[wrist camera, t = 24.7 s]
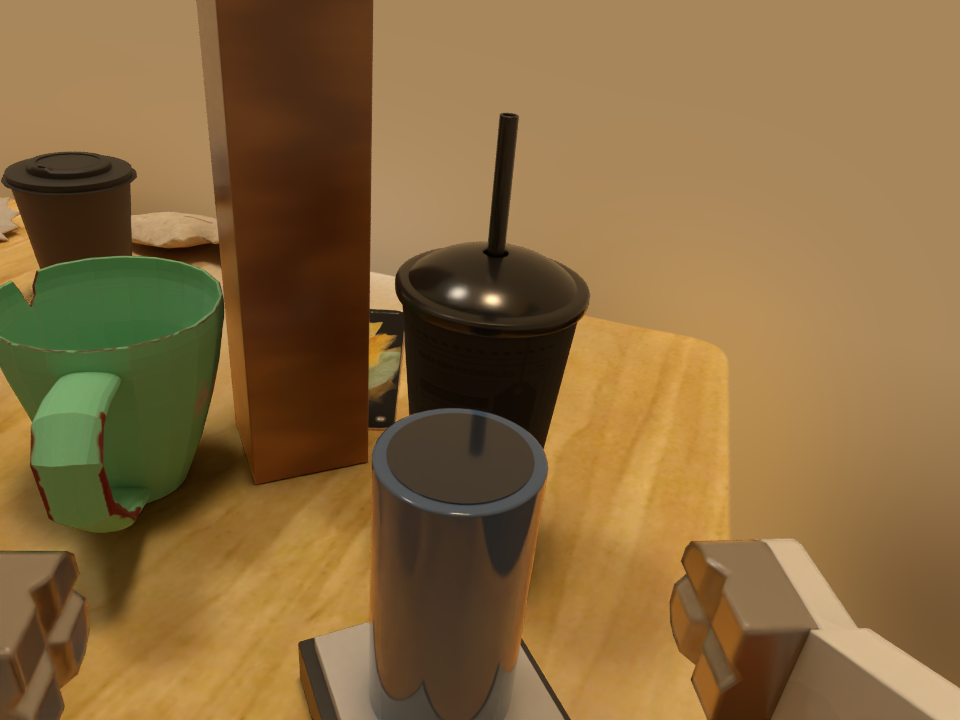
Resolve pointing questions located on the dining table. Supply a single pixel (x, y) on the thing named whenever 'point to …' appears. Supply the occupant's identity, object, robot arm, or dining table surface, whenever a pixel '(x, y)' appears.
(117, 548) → the dining table surface
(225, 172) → the stand
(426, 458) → the tumbler
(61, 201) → the coffee cup
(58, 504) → the mug
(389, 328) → the smartphone
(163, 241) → the decorative stone
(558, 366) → the drinking cup
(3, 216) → the fairy figurine
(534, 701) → the scale
